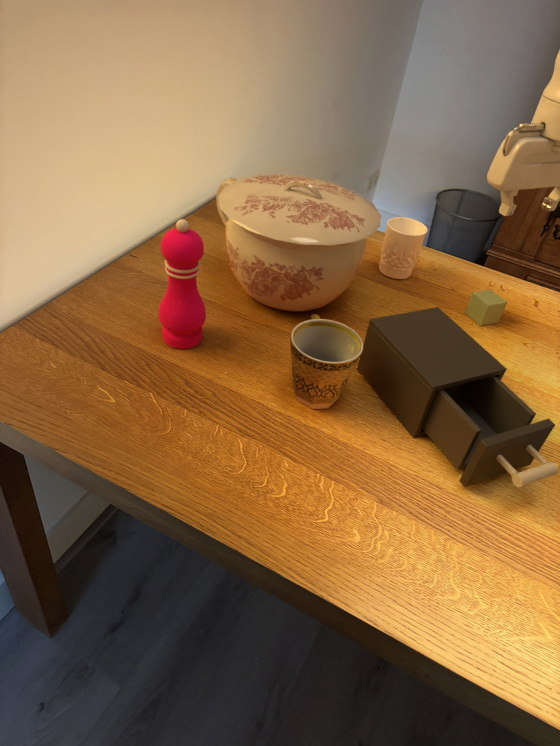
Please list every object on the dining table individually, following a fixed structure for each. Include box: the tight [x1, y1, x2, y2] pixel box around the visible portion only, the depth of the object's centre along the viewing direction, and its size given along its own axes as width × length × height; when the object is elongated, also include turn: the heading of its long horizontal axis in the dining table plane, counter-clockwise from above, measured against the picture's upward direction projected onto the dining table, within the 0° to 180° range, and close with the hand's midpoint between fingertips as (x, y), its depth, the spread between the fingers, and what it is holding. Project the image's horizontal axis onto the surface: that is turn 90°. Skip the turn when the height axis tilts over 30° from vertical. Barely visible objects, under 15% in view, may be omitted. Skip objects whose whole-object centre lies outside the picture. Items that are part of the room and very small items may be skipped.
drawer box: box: [356, 306, 508, 439], centre depth 80 cm, size 16×13×10 cm
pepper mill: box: [158, 218, 207, 350], centre depth 80 cm, size 7×7×20 cm
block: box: [464, 288, 508, 327], centre depth 101 cm, size 4×4×4 cm
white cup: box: [378, 216, 428, 280], centre depth 109 cm, size 8×8×10 cm
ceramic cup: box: [289, 313, 364, 410], centre depth 78 cm, size 13×10×10 cm
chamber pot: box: [215, 172, 382, 312], centre depth 95 cm, size 28×28×21 cm
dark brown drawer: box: [422, 376, 559, 488], centre depth 72 cm, size 19×11×8 cm, turn 25°
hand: (526, 211), depth 89 cm, fingers open, 8 cm apart
